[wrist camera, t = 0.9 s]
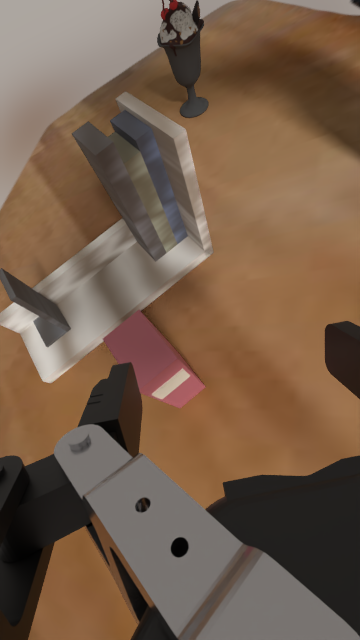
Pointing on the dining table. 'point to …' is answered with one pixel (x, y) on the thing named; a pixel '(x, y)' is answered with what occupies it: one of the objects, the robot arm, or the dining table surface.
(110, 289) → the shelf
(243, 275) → the dining table surface
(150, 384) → the book
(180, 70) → the sundae
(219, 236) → the dining table surface
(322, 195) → the dining table surface
